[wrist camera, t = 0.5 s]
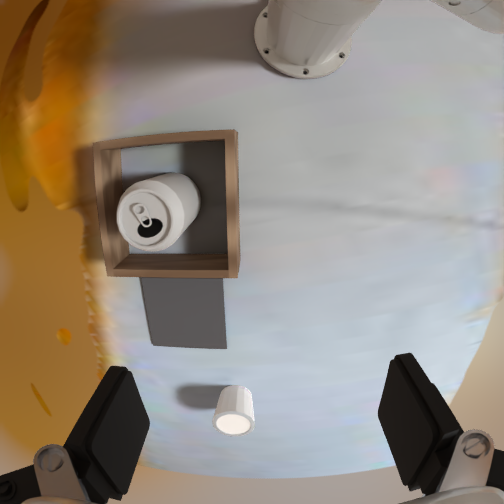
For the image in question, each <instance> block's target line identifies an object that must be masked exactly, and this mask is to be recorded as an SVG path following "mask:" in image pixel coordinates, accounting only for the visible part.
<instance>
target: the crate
mask: <svg viewBox="0 0 504 504" xmlns="http://www.w3.org/2000/svg"><path fill="white" fill-rule="evenodd" d="M204 141H225V170H226V208H227V239H228V254H130V253H129V245H128V242H127V241H126V240H125V239H124V238H123V236H122V235H121V233H120V231H119V228H118V225H117V207H118V204H119V201H120V198H121V196H122V195H123V185H122V170H121V149H123V148H131V147H140V146H150V145H161V144H173V143H187V142H204ZM93 157H94V174H95V187H96V198H97V208H98V217H99V225H100V233H101V240H102V247H103V253H104V260H105V266H106V271H107V276H115V277H162V278H238V272H239V265H240V228H239V178H238V132H236V131H235V130H210V131H193V132H179V133H167V134H157V135H147V136H138V137H130V138H122V139H115V140H108V141H102V142H95V143H93Z"/></svg>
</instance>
